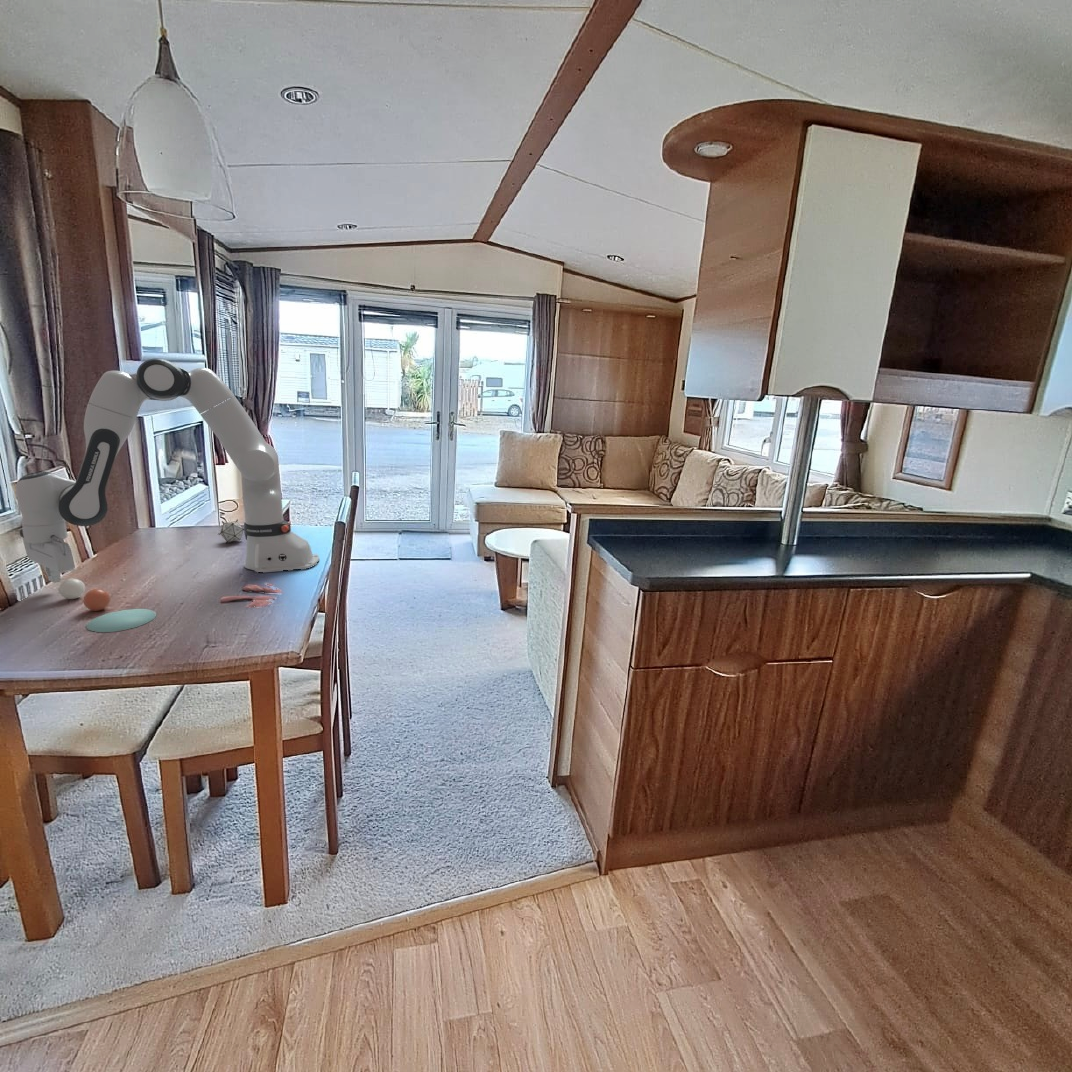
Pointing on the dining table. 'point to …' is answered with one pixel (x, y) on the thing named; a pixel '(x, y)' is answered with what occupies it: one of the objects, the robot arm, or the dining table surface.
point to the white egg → (72, 588)
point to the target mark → (121, 620)
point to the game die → (231, 531)
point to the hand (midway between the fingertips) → (54, 581)
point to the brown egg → (96, 599)
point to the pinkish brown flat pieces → (259, 600)
